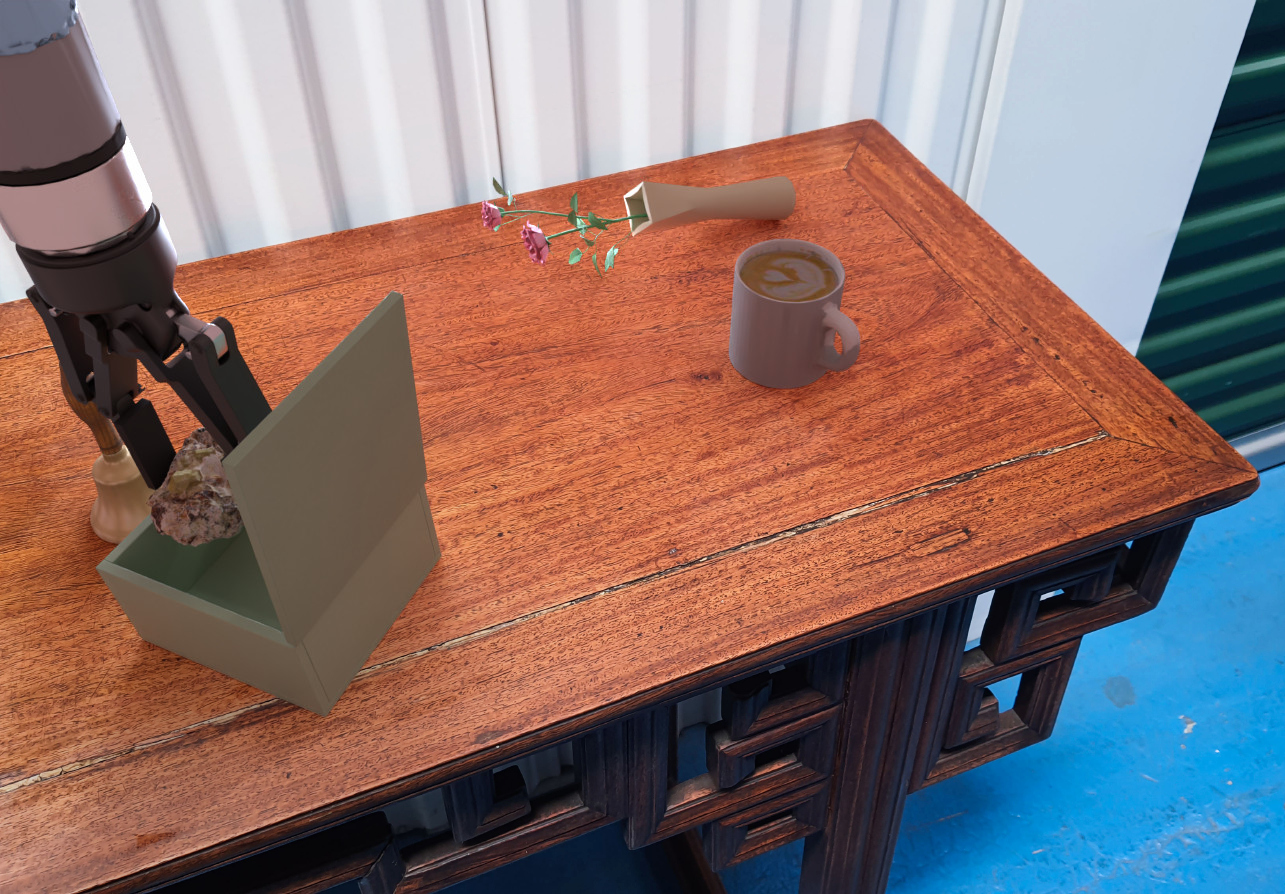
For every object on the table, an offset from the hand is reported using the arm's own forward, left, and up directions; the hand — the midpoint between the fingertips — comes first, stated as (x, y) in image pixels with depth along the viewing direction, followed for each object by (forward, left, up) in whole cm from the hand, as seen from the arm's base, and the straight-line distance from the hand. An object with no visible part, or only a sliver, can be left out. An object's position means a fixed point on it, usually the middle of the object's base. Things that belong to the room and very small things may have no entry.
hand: (214, 494), depth 71 cm
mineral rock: (0, 0, 0) cm, 1 cm away
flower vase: (+11, +52, -10) cm, 55 cm away
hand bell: (-14, +3, -10) cm, 17 cm away
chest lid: (+13, 0, +8) cm, 15 cm away
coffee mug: (+31, +41, -10) cm, 52 cm away
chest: (+4, 0, -10) cm, 11 cm away
